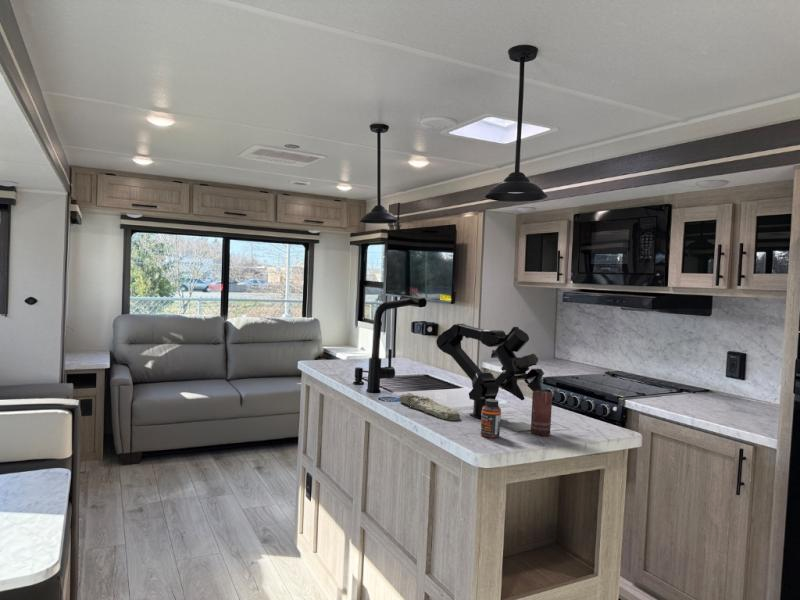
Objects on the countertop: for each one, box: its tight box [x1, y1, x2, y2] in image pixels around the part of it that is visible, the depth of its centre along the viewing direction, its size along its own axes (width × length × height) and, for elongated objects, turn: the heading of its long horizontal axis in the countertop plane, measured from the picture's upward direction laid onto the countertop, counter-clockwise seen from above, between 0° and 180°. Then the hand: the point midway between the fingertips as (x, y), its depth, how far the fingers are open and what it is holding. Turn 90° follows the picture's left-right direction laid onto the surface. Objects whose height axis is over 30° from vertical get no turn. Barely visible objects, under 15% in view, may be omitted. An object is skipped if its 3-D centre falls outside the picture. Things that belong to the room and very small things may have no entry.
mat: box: [500, 421, 531, 433], centre depth 191 cm, size 10×10×1 cm
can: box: [530, 389, 553, 437], centre depth 183 cm, size 6×6×14 cm
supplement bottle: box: [480, 399, 502, 439], centre depth 178 cm, size 6×6×11 cm
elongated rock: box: [399, 392, 461, 421], centre depth 211 cm, size 35×5×10 cm
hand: (533, 398), depth 186 cm, fingers open, 9 cm apart
